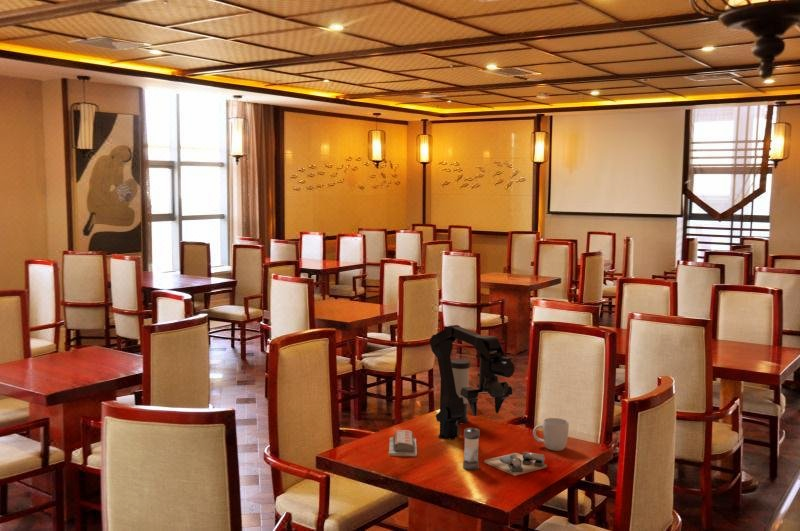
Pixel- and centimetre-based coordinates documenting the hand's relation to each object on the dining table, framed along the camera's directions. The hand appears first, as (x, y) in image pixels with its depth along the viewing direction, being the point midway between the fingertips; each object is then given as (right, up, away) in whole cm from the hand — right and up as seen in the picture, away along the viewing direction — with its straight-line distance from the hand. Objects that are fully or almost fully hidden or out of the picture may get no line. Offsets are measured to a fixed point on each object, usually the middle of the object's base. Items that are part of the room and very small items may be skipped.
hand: (485, 414), depth 274 cm
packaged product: (-30, -13, +2) cm, 33 cm away
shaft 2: (+14, -15, -15) cm, 26 cm away
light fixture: (-8, -10, +37) cm, 39 cm away
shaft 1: (+7, -15, -20) cm, 26 cm away
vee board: (+8, -15, -14) cm, 22 cm away
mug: (+24, -13, +6) cm, 28 cm away
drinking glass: (-7, -15, -17) cm, 24 cm away
